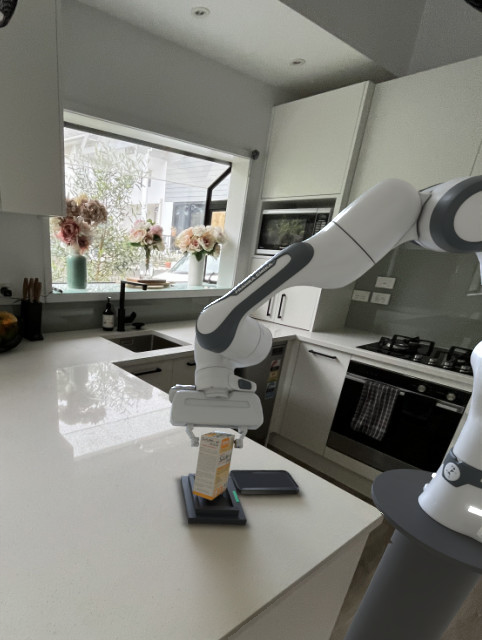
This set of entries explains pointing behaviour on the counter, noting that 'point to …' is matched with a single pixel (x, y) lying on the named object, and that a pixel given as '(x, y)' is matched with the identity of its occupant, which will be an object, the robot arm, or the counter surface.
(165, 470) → the counter surface
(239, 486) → the phone
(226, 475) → the supplement box
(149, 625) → the counter surface
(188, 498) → the charging dock
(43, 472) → the counter surface
